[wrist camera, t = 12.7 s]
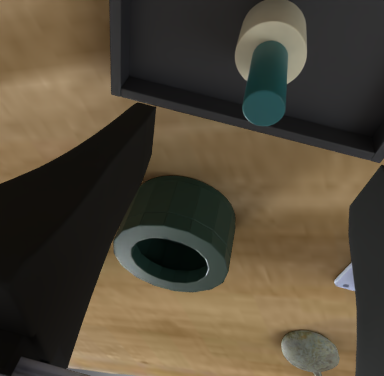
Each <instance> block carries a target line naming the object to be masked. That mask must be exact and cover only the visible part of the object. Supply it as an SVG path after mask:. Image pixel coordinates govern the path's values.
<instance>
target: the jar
mask: <svg viewBox="0 0 384 376" xmlns="http://www.w3.org/2000/svg"><path fill="white" fill-rule="evenodd" d="M234 233H235V213H234V210H233V208H232V206H231V204H230V203H229V201H228V200H227V199H226V198H225V197H224V196H223V195H222V194H221V193H220V192H219V191H217V190H216V189H214V188H213V187H211V186H209V185H207V184H205V183H203V182H201V181H198V180H195V179H192V178H187V177H181V176H162V177H157V178H154V179H151V180H149V181H147V182H145V183H144V184H142V185H141V186H140V187H139V188H138V190H137V192H136V194H135V196H134V198H133V200H132V202H131V204H130V206H129V208H128V210H127V212H126V214H125V216H124V218H123V220H122V222H121V224H120V227H119V229H118V231H117V233H116V236H115V238H114V254H115V256H116V257H117V259H118V260H119V262H120V263H121V265H122V266H123V267H124V268H125V269H127V270H128V271H129V272H131V273H132V274H133V275H134V276H136V277H137V278H139V279H141V280H143V281H146V282H148V283H150V284H152V285H154V286H158V287H161V288H165V289H169V290H173V291H182V292H198V291H204V290H210V289H213V288H214V287H216V286H218V285H220V284H221V283H223V282H224V280H225V278H226V275H227V273H228V271H229V264H230V258H231V252H232V245H233V239H234Z"/></svg>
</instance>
